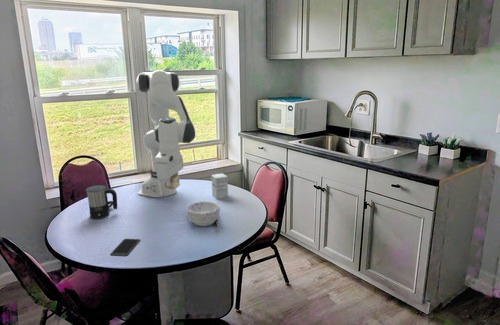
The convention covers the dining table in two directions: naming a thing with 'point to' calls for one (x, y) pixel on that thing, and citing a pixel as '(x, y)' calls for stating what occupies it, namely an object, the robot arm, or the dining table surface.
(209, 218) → the paper bowls
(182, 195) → the dining table surface
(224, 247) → the dining table surface
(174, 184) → the maple block
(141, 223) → the dining table surface
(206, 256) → the dining table surface
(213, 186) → the supplement box
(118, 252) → the cell phone
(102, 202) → the milk frother
